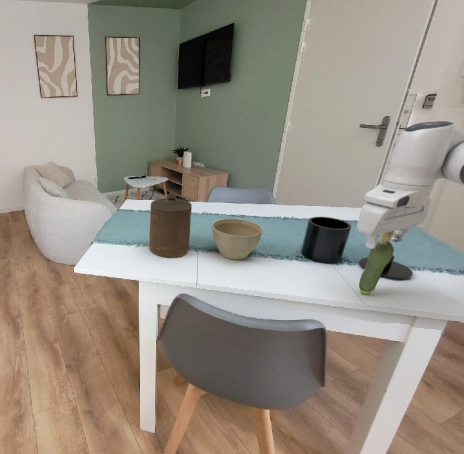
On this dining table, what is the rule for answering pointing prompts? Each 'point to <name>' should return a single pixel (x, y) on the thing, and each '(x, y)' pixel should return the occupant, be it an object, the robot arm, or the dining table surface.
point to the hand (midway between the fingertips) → (383, 244)
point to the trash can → (325, 239)
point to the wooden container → (170, 226)
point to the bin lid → (392, 269)
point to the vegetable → (376, 263)
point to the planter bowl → (236, 237)
